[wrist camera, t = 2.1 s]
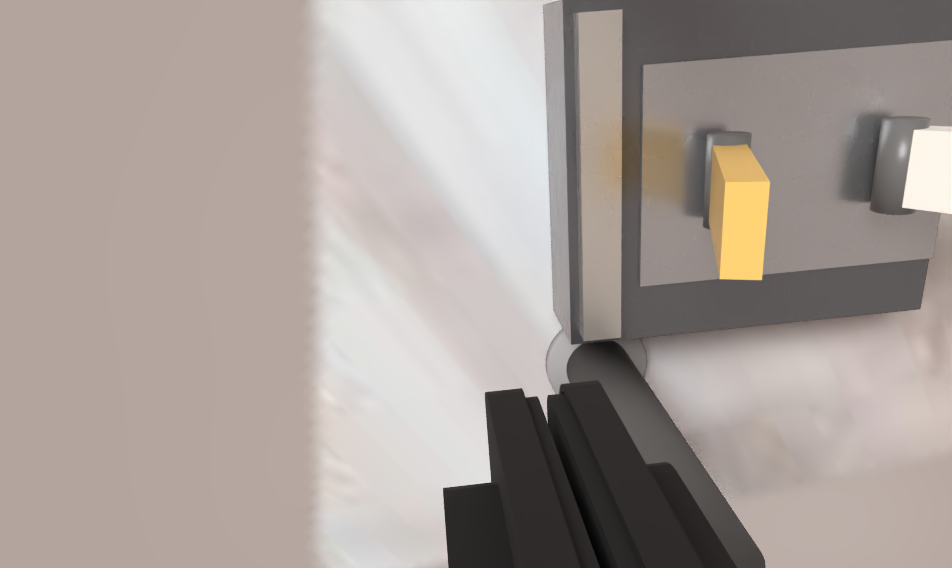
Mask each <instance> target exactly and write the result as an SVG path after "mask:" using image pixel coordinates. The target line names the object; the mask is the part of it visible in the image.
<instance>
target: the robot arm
mask: <svg viewBox="0 0 952 568" xmlns="http://www.w3.org/2000/svg"><path fill="white" fill-rule="evenodd" d="M485 405H486V418H487V431H488V444H489V457H490V470H491V483H483V484H475V485H466V486H458V487H449V488H443V495H444V510H445V524H446V537H447V551H448V565H449V568H737V567H736V565H735V563H734V562H733V560H732V559H731V557H730V555H729V554H728V552H727V551H726V549H725V547H724V546H723V544H722V543H721V541H720V539H719V538H718V536H717V535H716V533H715V531H714V530H713V528H712V527H711V525H710V524H709V522H708V520H707V519H706V517H705V516H704V514H703V512H702V511H701V509H700V508H699V506H698V504H697V503H696V501H695V500H694V498H693V496H692V495H691V493H690V492H689V490H688V488H687V487H686V485H685V484H684V482H683V480H682V479H681V477H680V476H679V474H678V472H677V471H676V470H675V468H674V467H673V466H672V465H671V464H670V463H668V462H661V463H653V464H646V463H645V461H644V459H643V458H642V456H641V454H640V452H639V451H638V449H637V447H636V445H635V443H634V442H633V440H632V438H631V436H630V435H629V433H628V431H627V429H626V427H625V426H624V424H623V422H622V420H621V419H620V417H619V415H618V413H617V411H616V410H615V408H614V406H613V404H612V403H611V401H610V399H609V397H608V396H607V394H606V392H605V390H604V388H603V387H602V385H601V383H600V382H599V381H598V380H593V381H584V382H575V383H566V384H561V385H560V390H559V394H555V395H548V397H547V414H548V423H547V421H546V418H545V415H544V412H543V410H542V407H541V404H540V401H539V399H538V397H528V398H525V395H524V392H523V390H522V389H521V388H520V389H511V390H502V391H493V392H485Z"/></svg>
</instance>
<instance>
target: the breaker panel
mask: <svg viewBox="0 0 952 568" xmlns="http://www.w3.org/2000/svg"><path fill="white" fill-rule="evenodd" d="M543 14H544V43H545V73H546V102H547V132H548V161H549V191H550V220H551V250H552V279H553V308H554V312H555V314H556V316H557V318H558V320H559V322H560V324H561V326H562V328H563V330H564V332H565V334H566V336H567V338H568V340H569V342H570V344H571V345H574V344H584V343H594V342H604V341H613V340H623V339H633V338H643V337H653V336H662V335H672V334H682V333H692V332H702V331H711V330H721V329H731V328H741V327H751V326H760V325H770V324H780V323H790V322H800V321H809V320H819V319H829V318H839V317H849V316H858V315H868V314H878V313H888V312H898V311H907V310H917V309H920V308H921V302H922V296H923V291H924V285H925V279H926V273H927V267H928V262H929V258H933V253H934V247H935V242H936V236H937V230H938V224H939V219H940V213H941V212H933V211H925V210H917V209H916V212H915V213H913V214H908V215H887V214H880V213H876V212H873V211H871V210H870V202H871V194H872V187H873V180H874V172H875V165H876V158H877V150H878V143H879V136H880V128H881V121H882V118H886V117H897V116H917V117H927V118H930V119H931V120H930V126H949V127H952V0H559V1H556V2H552V3H549V4H545V5H543ZM721 131H743V132H749V133H752V138H751V152H752V153H753V155H754V156H755V158H756V160H757V161H758V163H759V164H760V166H761V168H762V169H763V171H764V173H765V174H766V176H767V177H768V179H769V181H770V189H769V201H768V213H767V225H766V237H765V249H764V262H763V274H762V280H733V279H719V273H718V268H717V263H716V257H715V252H714V247H713V242H712V236H711V231H710V230H709V229H706V228H704V227H703V226H702V225H703V204H704V183H705V162H706V142H707V134H709V133H713V132H721Z"/></svg>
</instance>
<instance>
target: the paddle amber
mask: <svg viewBox="0 0 952 568" xmlns="http://www.w3.org/2000/svg"><path fill="white" fill-rule="evenodd" d="M751 138H752V133H749V132H743V131H721V132H713V133H709V134H707V142H706V162H705V183H704V204H703V225H702V226H703V227H704V228H706V229H709V230H710V231H711V236H712V242H713V247H714V252H715V257H716V263H717V268H718V273H719V279H733V280H762V274H763V262H764V249H765V237H766V225H767V213H768V201H769V189H770V181H769V179H768V177H767V176H766V174H765V173H764V171H763V169H762V168H761V166H760V164H759V163H758V161H757V160H756V158H755V156H754V155H753V153H752V152H751Z"/></svg>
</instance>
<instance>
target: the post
mask: <svg viewBox="0 0 952 568" xmlns="http://www.w3.org/2000/svg"><path fill="white" fill-rule="evenodd" d="M646 365H647V359H646V352H645V349H644V346H643V344H642V342H641V341H640V339H639V338H633V339H623V340H613V341H604V342H594V343H584V344H574V345H571V344H570V342H569V340H568V338H567V336H566V334H565V332H564V330H563V329H562V330H561V331H560V332H559V333H558V334H557V335H556V336H555V338H554V339H553V341H552V342H551V344H550V346H549V349H548V352H547V356H546V372H547V375H548V378H549V381H550V383H551V386H552V388H553V390H554V392H555V393H556V394H559V390H560V385H561V384H566V383H575V382H584V381H593V380H598V381H599V382H600V383H601V385H602V387H603V388H604V390H605V392H606V394H607V396H608V397H609V399H610V401H611V403H612V404H613V406H614V408H615V410H616V411H617V413H618V415H619V417H620V419H621V420H622V422H623V424H624V426H625V427H626V429H627V431H628V433H629V435H630V436H631V438H632V440H633V442H634V443H635V445H636V447H637V449H638V451H639V452H640V454H641V456H642V458H643V459H644V461H645V463H646V464H653V463H661V462H668V463H670V464H671V465H672V466H673V467H674V468H675V470H676V471H677V472H678V474H679V476H680V477H681V479H682V480H683V482H684V484H685V485H686V487H687V488H688V490H689V492H690V493H691V495H692V496H693V498H694V500H695V501H696V503H697V504H698V506H699V508H700V509H701V511H702V512H703V514H704V516H705V517H706V519H707V520H708V522H709V524H710V525H711V527H712V528H713V530H714V531H715V533H716V535H717V536H718V538H719V539H720V541H721V543H722V544H723V546H724V547H725V549H726V551H727V552H728V554H729V555H730V557H731V559H732V560H733V562H734V563H735V565H736V567H737V568H765V560H764V557H763V555H762V553H761V552H760V550H759V548H758V547H757V546H756V544H755V542H754V541H753V540H752V538H751V537H750V535H749V534H748V532H747V531H746V529H745V528H744V526H743V525H742V523H741V522H740V520H739V519H738V517H737V516H736V514H735V513H734V511H733V510H732V508H731V507H730V505H729V504H728V502H727V501H726V499H725V498H724V496H723V495H722V494H721V492H720V491H719V489H718V488H717V486H716V485H715V483H714V482H713V480H712V479H711V477H710V476H709V474H708V473H707V471H706V470H705V468H704V467H703V465H702V464H701V462H700V461H699V459H698V458H697V456H696V455H695V453H694V452H693V450H692V449H691V447H690V446H689V445H688V443H687V442H686V440H685V439H684V437H683V436H682V434H681V433H680V431H679V430H678V428H677V427H676V425H675V424H674V422H673V421H672V419H671V418H670V416H669V415H668V413H667V412H666V410H665V409H664V407H663V406H662V404H661V403H660V401H659V400H658V399H657V397H656V396H655V394H654V393H653V391H652V390H651V388H650V387H649V385H648V384H647V382H646V381H645V379H644V375H645V371H646Z"/></svg>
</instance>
